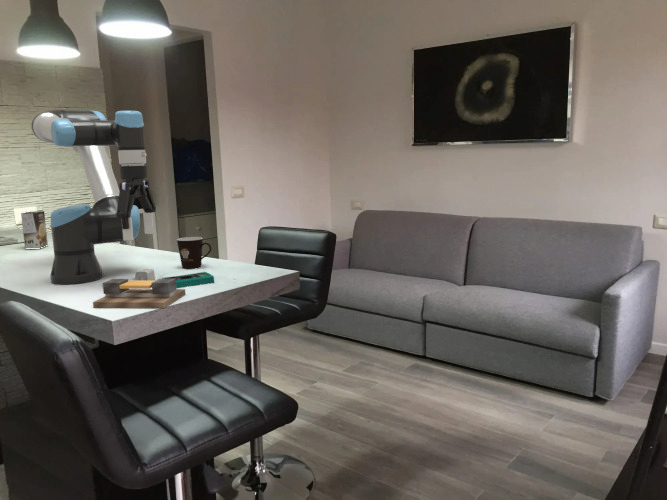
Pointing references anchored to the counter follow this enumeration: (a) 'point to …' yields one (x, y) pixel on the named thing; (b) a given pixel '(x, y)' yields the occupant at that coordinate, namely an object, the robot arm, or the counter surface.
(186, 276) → the digital multimeter
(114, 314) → the counter surface
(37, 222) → the coffee box
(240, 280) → the counter surface
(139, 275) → the usb wall charger
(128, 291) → the board
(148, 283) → the orange flat plate
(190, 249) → the coffee mug
